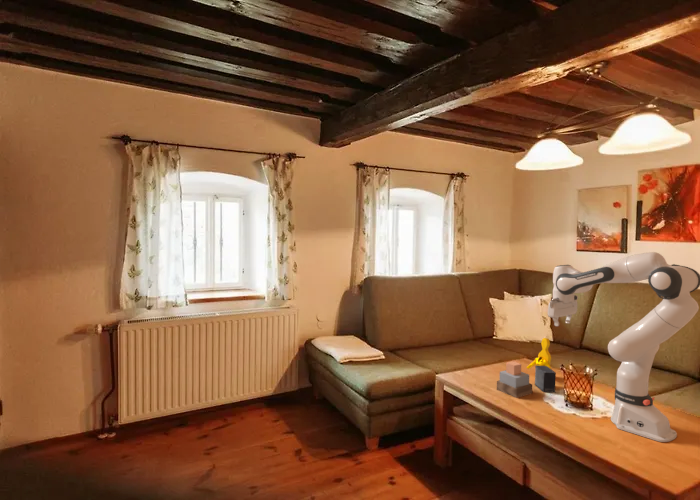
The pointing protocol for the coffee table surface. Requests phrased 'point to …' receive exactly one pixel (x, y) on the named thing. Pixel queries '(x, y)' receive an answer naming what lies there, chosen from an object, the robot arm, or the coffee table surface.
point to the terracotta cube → (513, 368)
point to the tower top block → (514, 379)
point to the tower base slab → (514, 389)
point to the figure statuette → (542, 355)
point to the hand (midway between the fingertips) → (562, 324)
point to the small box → (545, 378)
